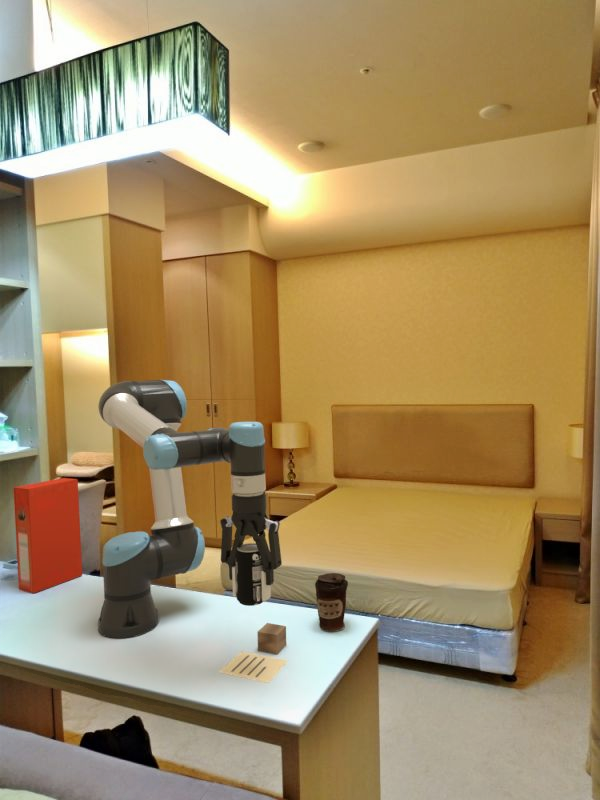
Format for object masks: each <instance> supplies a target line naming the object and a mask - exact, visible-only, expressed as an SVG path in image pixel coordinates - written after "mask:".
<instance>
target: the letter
mask: <svg viewBox="0 0 600 800" xmlns="http://www.w3.org/2000/svg"><path fill="white" fill-rule="evenodd" d="M288 661H289V660H287V659H282V658H278V657H272V656H269V655H264V654H263V655H262V654H257V653H253V652H247V651H243V650H242V651H240V653H238V654H237V655H236V656H235V657H234V658H233V659H232V660H230V662H229V663H227V664H226V665H225V666H224V667H223V668H222V669H221V670H220V671H219V673H221V674H226V675H231V676H234V677H240V678H244V679H248V680H253V681H257V682H261V683H266V684H269V683H270V682H271V681H272V680H273V679H274V677H275V676H276V675H277V674H278V673H279V672H280V671H281V669H282V668H283V667H284V666H286V664H287V663H288Z"/></svg>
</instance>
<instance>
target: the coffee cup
mask: <svg viewBox="0 0 600 800" xmlns="http://www.w3.org/2000/svg"><path fill="white" fill-rule="evenodd" d="M314 586H315V596H316V606H317V614H318V623H319V624H318V625H319V628H320V629H322V631H327V632H339V631H341V630H342V631H343V630H344V629H345V625H346V624H345V620H344V618H345V613H346V608H347V607H346V606H347V589H348V586H349V581H348V580H347V579H346V575H344V574H341V573H339V572H337V573H336V572H330V573H324V574H321V575H318V576H317V580H316V581H315V583H314Z"/></svg>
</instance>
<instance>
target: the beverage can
mask: <svg viewBox="0 0 600 800" xmlns="http://www.w3.org/2000/svg"><path fill="white" fill-rule="evenodd" d="M235 560H236V591H237V596H236V600H237V601H238V603H239V604H241V605H243V606H246V607H247V606H248V607H251V606H252V607H253V606H254V607H255V606H257V605H261V604H262V603H264V602H265V601H262V581H261V571H262V570H264V566H263V563H262V560H261V557H260V554H259V551H258V548H257V545H256V542H255V543H254V542H253V543H252V542H251V543H250V542H249V543H243V545H241V547H237V552H236V554H235Z"/></svg>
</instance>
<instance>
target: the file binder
mask: <svg viewBox="0 0 600 800" xmlns="http://www.w3.org/2000/svg"><path fill="white" fill-rule="evenodd" d="M79 501H80V500H79V480H78V478H68V477H63V478H62V477H60V478H55V479H50V480H46V481H41V482H36V483H30V484H26V485H21V486H20V485H19V486H14V487H13V504H14V521H15V525H14V526H15V539H16V560H17V562H16V563H17V577H18V578H17V579H18V581H17V582H18V589H19V590H20V591H23V592H27V593H29V594H30V593H31V594H35V593H39V592H40V591H44V590H46V589H49V588H52V587H54V586H56V585H60V584H62V583H65V582H68V581H71V580H73V579H76V578H78V577H81V576H83V562H82V561H83V559H82V541H81V539H82V538H81V537H82V536H81V522H80V521H81V520H80V502H79Z"/></svg>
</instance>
